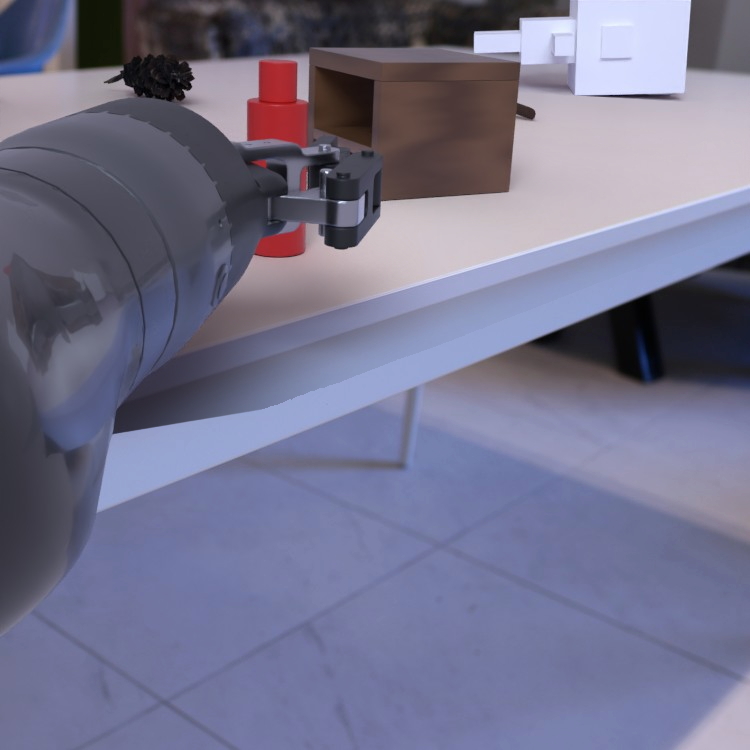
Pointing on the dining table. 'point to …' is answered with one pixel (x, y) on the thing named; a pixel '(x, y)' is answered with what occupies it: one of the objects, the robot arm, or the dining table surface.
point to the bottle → (279, 136)
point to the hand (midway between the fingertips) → (233, 153)
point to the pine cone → (157, 77)
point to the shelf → (419, 115)
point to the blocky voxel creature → (606, 45)
